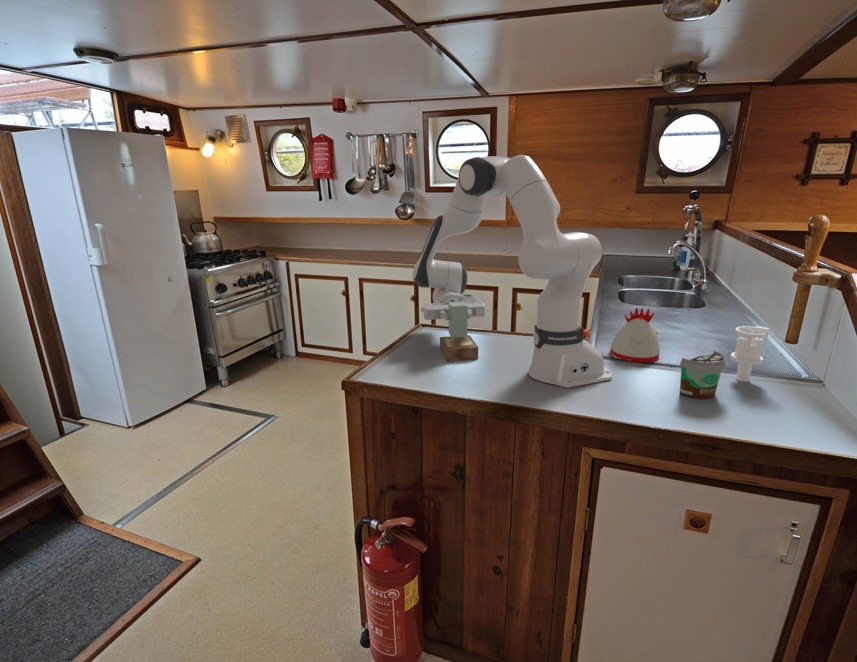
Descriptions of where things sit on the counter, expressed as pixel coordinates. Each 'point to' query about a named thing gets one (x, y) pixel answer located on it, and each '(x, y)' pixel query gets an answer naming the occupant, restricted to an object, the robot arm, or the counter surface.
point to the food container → (701, 375)
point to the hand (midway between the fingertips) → (458, 317)
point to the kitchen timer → (636, 339)
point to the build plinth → (458, 348)
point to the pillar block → (457, 319)
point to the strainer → (748, 350)
